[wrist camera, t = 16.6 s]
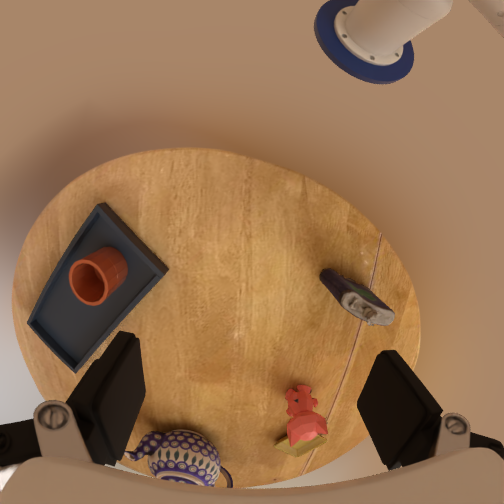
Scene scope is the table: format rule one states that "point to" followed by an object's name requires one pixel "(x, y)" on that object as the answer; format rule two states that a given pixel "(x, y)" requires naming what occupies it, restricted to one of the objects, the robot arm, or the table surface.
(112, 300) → the tray
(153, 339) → the table surface
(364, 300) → the flask
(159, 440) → the teapot
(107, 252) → the flower pot
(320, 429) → the cat figurine
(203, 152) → the table surface
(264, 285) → the table surface
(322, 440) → the yellow square dish
